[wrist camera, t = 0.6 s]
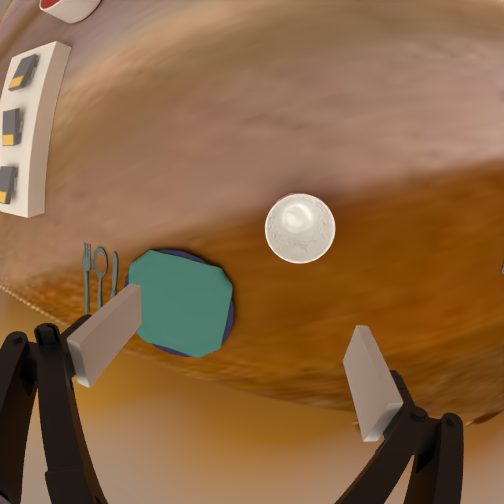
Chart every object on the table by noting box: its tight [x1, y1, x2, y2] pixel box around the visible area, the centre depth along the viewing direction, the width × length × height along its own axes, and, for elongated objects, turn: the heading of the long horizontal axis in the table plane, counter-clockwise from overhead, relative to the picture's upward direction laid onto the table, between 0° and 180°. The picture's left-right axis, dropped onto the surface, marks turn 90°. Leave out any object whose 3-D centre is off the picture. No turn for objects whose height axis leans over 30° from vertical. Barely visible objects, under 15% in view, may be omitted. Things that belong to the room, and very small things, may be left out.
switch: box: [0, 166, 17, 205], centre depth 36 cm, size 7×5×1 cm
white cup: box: [265, 193, 335, 263], centre depth 36 cm, size 8×8×10 cm
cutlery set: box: [81, 243, 234, 358], centre depth 46 cm, size 20×30×2 cm, turn 78°
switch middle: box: [2, 108, 20, 146], centre depth 33 cm, size 7×5×1 cm
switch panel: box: [0, 41, 71, 218], centre depth 37 cm, size 34×16×6 cm, turn 170°
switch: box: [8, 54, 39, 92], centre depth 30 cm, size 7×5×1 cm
